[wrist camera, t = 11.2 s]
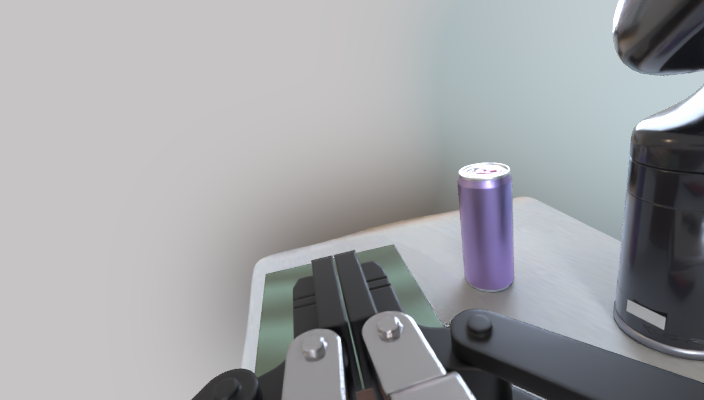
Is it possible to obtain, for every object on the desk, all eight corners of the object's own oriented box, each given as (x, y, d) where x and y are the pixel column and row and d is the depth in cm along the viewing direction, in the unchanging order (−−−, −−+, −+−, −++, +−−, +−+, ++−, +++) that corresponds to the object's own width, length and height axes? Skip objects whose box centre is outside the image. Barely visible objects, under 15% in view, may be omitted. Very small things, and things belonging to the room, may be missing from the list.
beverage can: (508, 298, 44) (505, 179, 39) (458, 288, 48) (449, 178, 42) (518, 271, 49) (516, 162, 44) (472, 264, 52) (465, 161, 47)
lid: (267, 280, 38) (265, 273, 38) (394, 250, 40) (393, 244, 39) (253, 419, 23) (250, 409, 23) (461, 363, 24) (460, 354, 24)
